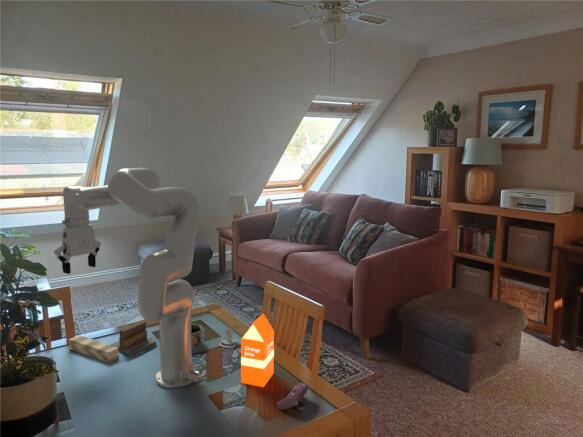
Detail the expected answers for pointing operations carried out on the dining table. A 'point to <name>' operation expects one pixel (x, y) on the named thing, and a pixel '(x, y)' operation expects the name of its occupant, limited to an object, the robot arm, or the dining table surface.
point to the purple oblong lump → (293, 397)
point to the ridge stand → (134, 339)
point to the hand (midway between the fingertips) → (79, 269)
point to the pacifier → (228, 339)
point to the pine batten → (94, 348)
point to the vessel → (196, 336)
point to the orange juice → (257, 353)
